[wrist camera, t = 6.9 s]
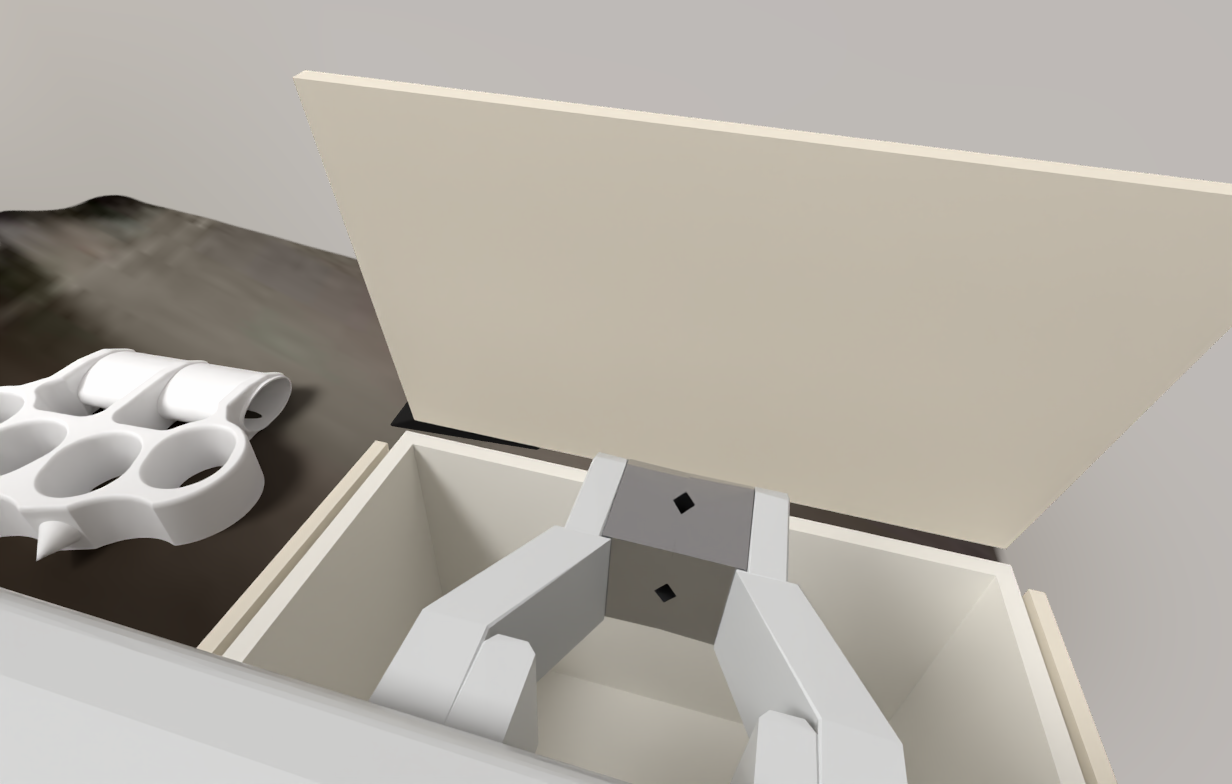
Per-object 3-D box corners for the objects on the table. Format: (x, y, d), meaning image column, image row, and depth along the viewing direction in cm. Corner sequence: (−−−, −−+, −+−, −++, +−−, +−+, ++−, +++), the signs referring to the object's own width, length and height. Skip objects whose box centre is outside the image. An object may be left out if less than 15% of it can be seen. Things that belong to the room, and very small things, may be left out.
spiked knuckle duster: (343, 409, 39) (173, 607, 27) (93, 369, 40) (-168, 539, 29) (331, 367, 37) (142, 561, 25) (68, 326, 38) (-222, 490, 27)
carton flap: (292, 77, 11) (304, 69, 12) (414, 419, 19) (420, 410, 19) (1350, 209, 9) (1335, 196, 9) (1006, 548, 16) (1003, 536, 16)
